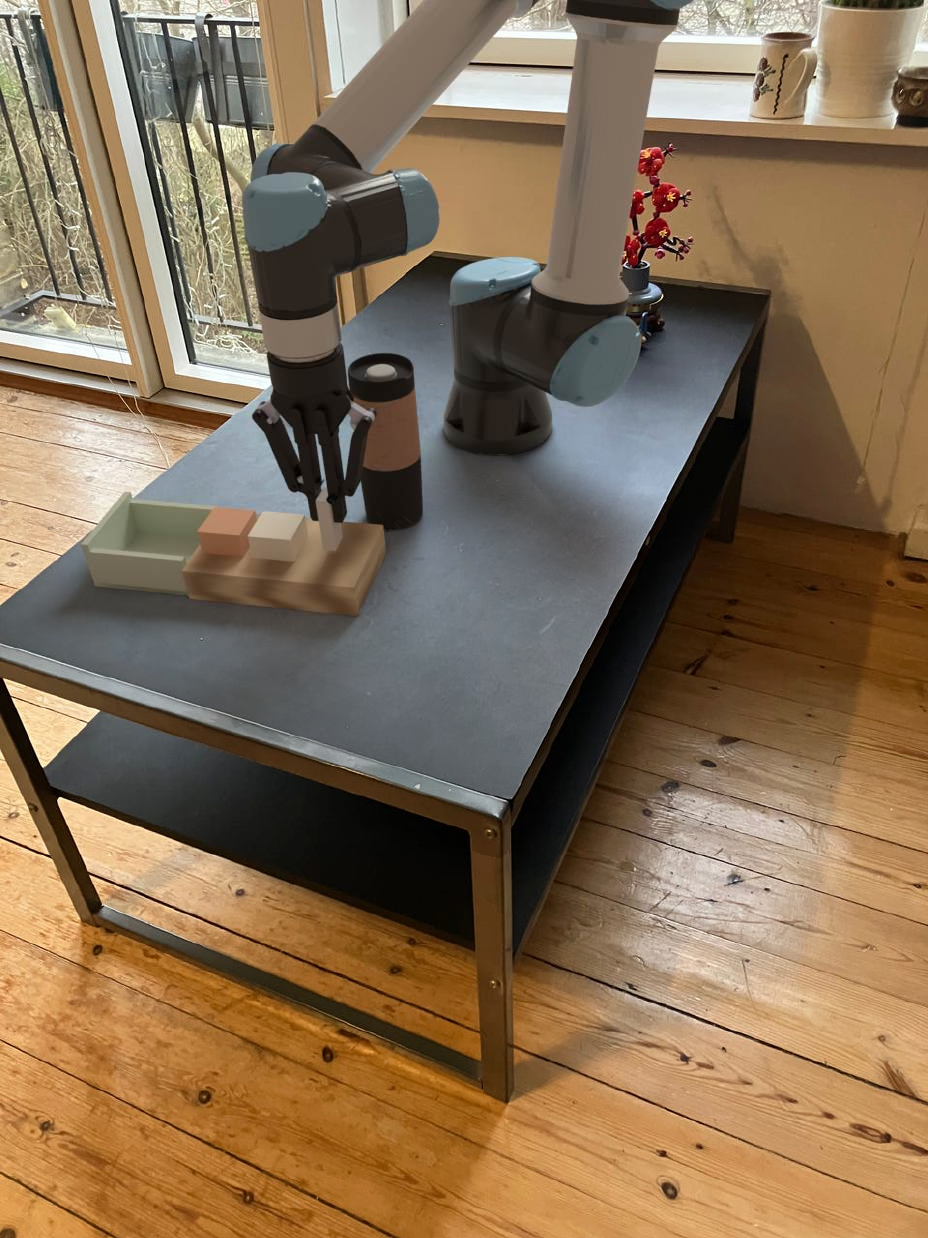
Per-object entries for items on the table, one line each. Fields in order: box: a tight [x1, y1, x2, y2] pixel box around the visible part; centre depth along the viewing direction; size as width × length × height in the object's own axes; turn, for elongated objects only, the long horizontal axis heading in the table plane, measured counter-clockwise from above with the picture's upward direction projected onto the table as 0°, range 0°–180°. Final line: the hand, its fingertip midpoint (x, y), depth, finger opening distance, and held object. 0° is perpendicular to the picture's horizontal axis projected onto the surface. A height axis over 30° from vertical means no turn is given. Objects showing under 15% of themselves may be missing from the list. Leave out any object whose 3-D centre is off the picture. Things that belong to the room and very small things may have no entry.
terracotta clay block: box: [197, 506, 257, 557], centre depth 118 cm, size 5×5×3 cm
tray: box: [80, 491, 220, 597], centre depth 121 cm, size 12×11×6 cm
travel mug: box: [347, 352, 424, 532], centre depth 122 cm, size 8×8×20 cm
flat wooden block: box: [182, 513, 387, 617], centre depth 119 cm, size 20×12×4 cm, turn 78°
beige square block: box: [248, 510, 308, 562], centre depth 116 cm, size 5×5×3 cm
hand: (333, 543), depth 115 cm, fingers closed
